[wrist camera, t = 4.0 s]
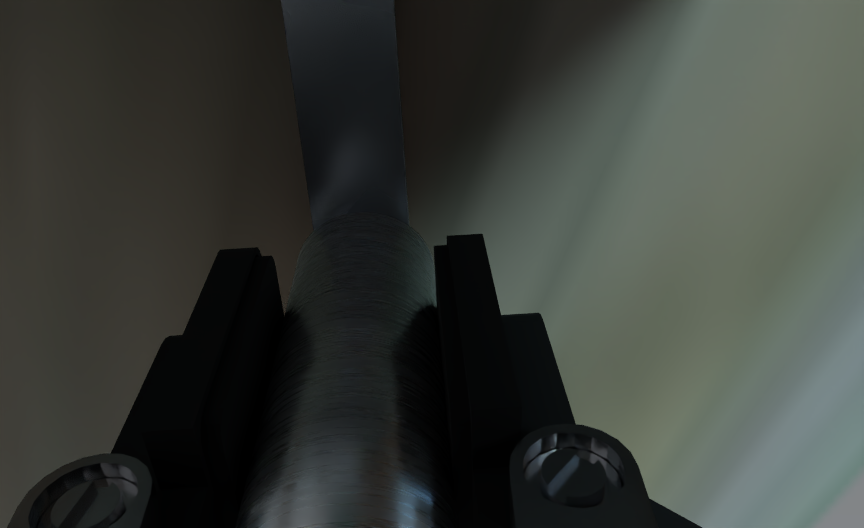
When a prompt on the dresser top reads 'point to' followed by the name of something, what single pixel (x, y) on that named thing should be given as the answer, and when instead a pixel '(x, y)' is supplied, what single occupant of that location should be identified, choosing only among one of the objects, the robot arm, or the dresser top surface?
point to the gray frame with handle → (353, 303)
